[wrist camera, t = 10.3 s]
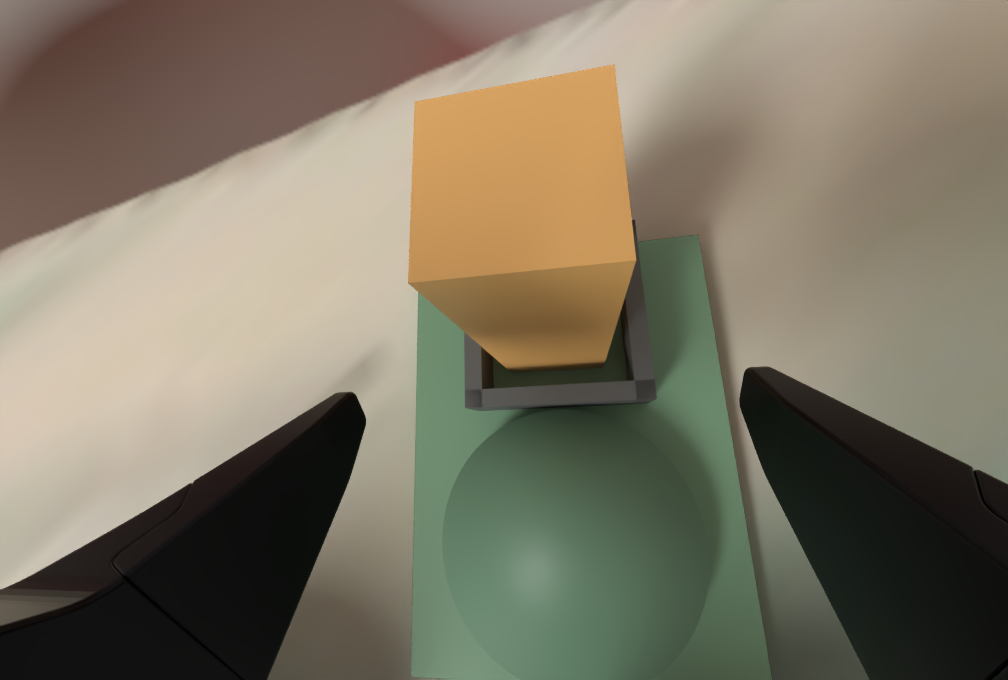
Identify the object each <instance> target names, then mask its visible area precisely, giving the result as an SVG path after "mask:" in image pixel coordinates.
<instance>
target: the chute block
mask: <svg viewBox="0 0 1008 680" xmlns="http://www.w3.org/2000/svg"><path fill="white" fill-rule="evenodd" d="M635 263H636V253H635V244H634V235H633V226H632V218H631V209H630V200H629V191H628V182H627V173H626V164H625V155H624V146H623V137H622V128H621V119H620V110H619V101H618V92H617V83H616V74H615V65H609V66H603V67H598V68H593V69H587V70H582V71H577V72H571V73H566V74H561V75H555V76H550V77H545V78H539V79H534V80H529V81H523V82H518V83H513V84H507V85H502V86H496V87H491V88H486V89H480V90H475V91H470V92H464V93H459V94H454V95H448V96H443V97H438V98H432V99H427V100H422V101H416V102H415V111H414V138H413V165H412V192H411V220H410V247H409V274H408V283H409V284H410V285H411V286H412V287H413V288H414V289H416V290H417V291H418V292H419V293H420V294H421V295H423V296H424V297H425V298H426V299H427V300H428V301H429V302H431V303H432V304H433V305H434V306H435V307H436V308H437V309H439V310H440V311H441V312H442V313H443V314H444V315H446V316H447V317H448V318H449V319H450V320H451V321H452V322H454V323H455V324H456V325H457V326H458V327H459V328H460V329H462V330H463V331H464V332H465V333H466V334H467V335H469V336H470V337H471V338H472V339H473V340H474V341H475V342H477V343H478V344H479V345H480V346H481V347H482V348H484V349H485V350H486V351H487V352H488V353H489V354H490V355H492V356H493V357H494V358H495V359H496V360H497V361H498V362H500V363H501V364H502V365H503V366H504V367H505V368H507V369H508V370H509V371H510V372H511V373H513V372H531V371H550V370H569V369H587V368H603V367H604V364H605V361H606V358H607V354H608V351H609V348H610V345H611V341H612V338H613V335H614V332H615V328H616V325H617V322H618V318H619V315H620V312H621V309H622V305H623V302H624V299H625V296H626V292H627V289H628V286H629V282H630V279H631V276H632V273H633V269H634V266H635Z"/></svg>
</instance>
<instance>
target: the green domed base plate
mask: <svg viewBox="0 0 1008 680" xmlns="http://www.w3.org/2000/svg"><path fill="white" fill-rule="evenodd" d="M632 226H633V235H634V244H635V253H636V263H635V266H634V269H633V273H632V276H631V279H630V282H629V286H628V289H627V292H626V296H625V299H624V302H623V305H622V309H621V312H620V315H619V318H618V322H617V325H616V328H615V332H614V335H613V338H612V341H611V345H610V348H609V351H608V354H607V358H606V361H605V364H604V367H603V368H587V369H569V370H550V371H531V372H513V373H511V372H510V371H509V370H508V369H507V368H505V367H504V366H503V365H502V364H501V363H500V362H498V361H497V360H496V359H495V358H494V357H493V356H492V355H490V354H489V353H488V352H487V351H486V350H485V349H484V348H482V347H481V346H480V345H479V344H478V343H477V342H475V341H474V340H473V339H472V338H471V337H470V336H469V335H467V334H466V333H465V332H464V331H463V330H462V329H460V328H459V327H458V326H457V325H456V324H455V323H454V322H452V321H451V320H450V319H449V318H448V317H447V316H446V315H444V314H443V313H442V312H441V311H440V310H439V309H437V308H436V307H435V306H434V305H433V304H432V303H431V302H429V301H428V300H427V299H426V298H425V297H424V296H423V295H421V294H420V293H419V292H418V335H417V387H416V438H415V489H414V540H413V592H412V643H411V677H422V678H435V679H448V680H772V676H771V670H770V664H769V658H768V652H767V646H766V640H765V634H764V628H763V622H762V616H761V610H760V604H759V598H758V592H757V586H756V580H755V574H754V568H753V562H752V556H751V550H750V544H749V538H748V532H747V526H746V520H745V514H744V508H743V502H742V496H741V490H740V484H739V478H738V472H737V466H736V460H735V454H734V448H733V442H732V436H731V430H730V424H729V418H728V412H727V406H726V400H725V394H724V388H723V382H722V376H721V370H720V364H719V358H718V352H717V346H716V340H715V334H714V328H713V322H712V316H711V310H710V304H709V298H708V292H707V286H706V280H705V274H704V268H703V262H702V256H701V250H700V244H699V238H698V235H691V236H683V237H674V238H666V239H657V240H649V241H640V242H637V235H636V227H635V220H632Z"/></svg>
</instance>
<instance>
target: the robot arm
mask: <svg viewBox="0 0 1008 680" xmlns="http://www.w3.org/2000/svg"><path fill="white" fill-rule="evenodd" d="M739 402H740V408H741V411H742V414H743V417H744V420H745V422H746V425H747V428H748V430H749V433H750V436H751V439H752V441H753V444H754V447H755V449H756V452H757V455H758V458H759V460H760V463H761V465H762V468H763V470H764V473H765V475H766V477H767V479H768V481H769V483H770V485H771V487H772V489H773V491H774V493H775V495H776V497H777V499H778V501H779V503H780V505H781V507H782V509H783V511H784V513H785V515H786V517H787V519H788V521H789V523H790V525H791V527H792V528H793V530H794V532H795V534H796V536H797V538H798V540H799V542H800V544H801V546H802V548H803V550H804V552H805V554H806V556H807V558H808V560H809V562H810V564H811V566H812V568H813V570H814V572H815V574H816V575H817V577H818V579H819V581H820V583H821V585H822V587H823V589H824V591H825V593H826V595H827V597H828V599H829V601H830V603H831V605H832V607H833V609H834V611H835V613H836V615H837V617H838V619H839V620H840V622H841V624H842V626H843V628H844V630H845V632H846V634H847V636H848V638H849V640H850V642H851V644H852V646H853V648H854V650H855V652H856V654H857V656H858V658H859V660H860V662H861V664H862V665H863V667H864V669H865V671H866V673H867V675H868V677H869V679H870V680H1008V484H1006V483H1004V482H1002V481H1000V480H998V479H996V478H994V477H992V476H990V475H988V474H986V473H984V472H982V471H980V470H973V468H972V467H971V466H970V465H968V464H966V463H963V462H961V461H959V460H957V459H955V458H953V457H951V456H949V455H947V454H945V453H943V452H941V451H939V450H937V449H935V448H933V447H931V446H929V445H927V444H925V443H923V442H921V441H919V440H917V439H915V438H913V437H911V436H909V435H907V434H905V433H903V432H901V431H899V430H897V429H895V428H892V427H890V426H888V425H886V424H884V423H882V422H880V421H878V420H876V419H874V418H872V417H870V416H868V415H866V414H864V413H862V412H860V411H858V410H856V409H854V408H852V407H850V406H848V405H846V404H844V403H842V402H840V401H838V400H836V399H834V398H832V397H830V396H828V395H826V394H824V393H821V392H819V391H817V390H815V389H813V388H811V387H809V386H807V385H805V384H803V383H801V382H799V381H797V380H795V379H793V378H791V377H789V376H787V375H785V374H783V373H781V372H779V371H777V370H775V369H773V368H771V367H750V368H748V369H746V370H745V372H744V376H743V382H742V387H741V393H740V399H739ZM365 426H366V418H365V414H364V412H363V410H362V408H361V405H360V403H359V401H358V399H357V396H356V395H355V394H354V393H353V392H339V393H335V394H334V395H332V396H330V397H329V398H327V399H326V400H324V401H322V402H321V403H319V404H318V405H316V406H314V407H313V408H311V409H309V410H308V411H306V412H305V413H303V414H301V415H300V416H298V417H297V418H295V419H293V420H292V421H290V422H288V423H287V424H285V425H284V426H282V427H280V428H279V429H277V430H276V431H274V432H272V433H271V434H269V435H267V436H266V437H264V438H263V439H261V440H259V441H258V442H256V443H255V444H253V445H251V446H250V447H248V448H246V449H245V450H243V451H242V452H240V453H238V454H237V455H235V456H234V457H232V458H230V459H229V460H227V461H225V462H224V463H222V464H221V465H219V466H217V467H216V468H214V469H213V470H211V471H209V472H208V473H206V474H204V475H203V476H201V477H200V478H198V479H196V480H195V481H194V482H193V484H192V483H190V484H188V485H187V486H185V487H183V488H182V489H180V490H179V491H177V492H175V493H174V494H172V495H170V496H169V497H167V498H165V499H164V500H162V501H160V502H159V503H157V504H156V505H154V506H152V507H151V508H149V509H147V510H146V511H144V512H142V513H140V514H139V515H137V516H135V517H133V518H132V519H130V520H128V521H127V522H125V523H123V524H121V525H120V526H118V527H116V528H114V529H113V530H111V531H109V532H107V533H106V534H104V535H102V536H100V537H98V538H97V539H95V540H93V541H91V542H90V543H88V544H86V545H84V546H83V547H81V548H79V549H77V550H75V551H74V552H72V553H70V554H68V555H67V556H65V557H63V558H61V559H59V560H58V561H56V562H54V563H52V564H51V565H49V566H47V567H45V568H44V569H42V570H40V571H38V572H36V573H35V574H33V575H31V576H29V577H27V578H25V579H23V580H21V581H19V582H17V583H15V584H13V585H10V586H8V587H6V588H3V589H1V590H0V680H267V678H268V676H269V674H270V671H271V669H272V666H273V664H274V661H275V659H276V657H277V654H278V652H279V649H280V647H281V644H282V642H283V640H284V637H285V635H286V632H287V630H288V628H289V625H290V623H291V620H292V618H293V615H294V613H295V611H296V608H297V606H298V603H299V601H300V599H301V596H302V594H303V591H304V589H305V586H306V584H307V582H308V579H309V577H310V574H311V572H312V569H313V567H314V565H315V562H316V560H317V557H318V555H319V553H320V550H321V548H322V545H323V543H324V540H325V538H326V536H327V533H328V531H329V528H330V526H331V524H332V521H333V519H334V516H335V514H336V511H337V509H338V507H339V504H340V502H341V499H342V497H343V494H344V492H345V490H346V487H347V484H348V482H349V479H350V476H351V473H352V470H353V467H354V463H355V460H356V456H357V453H358V450H359V446H360V443H361V440H362V436H363V433H364V429H365Z"/></svg>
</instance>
